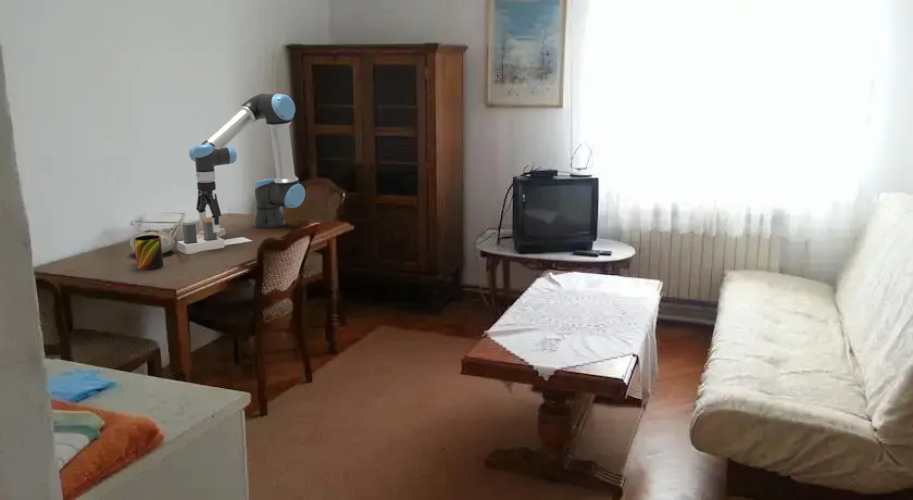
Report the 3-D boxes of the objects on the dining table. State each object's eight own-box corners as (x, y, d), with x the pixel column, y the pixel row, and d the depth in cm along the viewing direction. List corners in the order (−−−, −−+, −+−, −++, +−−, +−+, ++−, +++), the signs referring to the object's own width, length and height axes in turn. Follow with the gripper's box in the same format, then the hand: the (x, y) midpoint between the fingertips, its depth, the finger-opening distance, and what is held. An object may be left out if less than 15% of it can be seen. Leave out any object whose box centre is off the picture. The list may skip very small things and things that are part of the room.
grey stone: (182, 249, 339) (180, 226, 336) (164, 259, 321) (162, 236, 319) (143, 248, 340) (141, 226, 338) (123, 258, 323) (120, 235, 320)
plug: (213, 242, 343) (211, 217, 340) (217, 243, 340) (215, 218, 338) (204, 243, 341) (202, 218, 338) (208, 244, 338) (206, 220, 335)
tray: (242, 238, 359) (242, 237, 359) (252, 241, 352) (252, 240, 352) (213, 242, 351) (213, 241, 350) (223, 246, 343) (223, 245, 343)
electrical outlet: (188, 235, 349) (212, 227, 365) (189, 244, 350) (212, 235, 366) (202, 236, 347) (225, 228, 363) (202, 245, 348) (225, 236, 364)
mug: (137, 263, 316) (134, 234, 313) (168, 264, 313) (165, 235, 310) (122, 269, 307) (119, 239, 304) (154, 271, 304) (151, 241, 301)
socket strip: (215, 244, 347) (213, 216, 344) (224, 248, 340) (222, 219, 337) (178, 250, 336) (175, 221, 333) (186, 254, 329) (183, 224, 326)
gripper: (186, 178, 341) (190, 226, 346) (209, 185, 322) (213, 235, 327) (202, 177, 345) (206, 223, 350) (227, 183, 327) (230, 232, 332)
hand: (209, 229), depth 339 cm, fingers open, 13 cm apart
